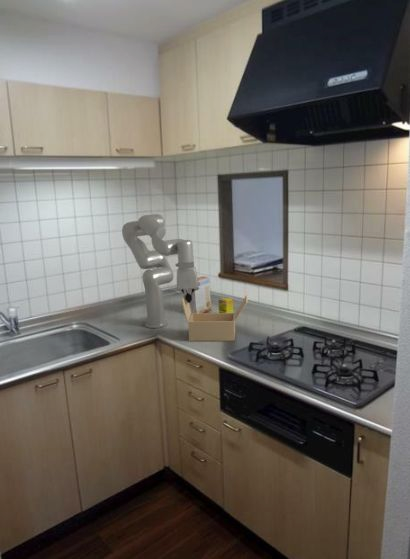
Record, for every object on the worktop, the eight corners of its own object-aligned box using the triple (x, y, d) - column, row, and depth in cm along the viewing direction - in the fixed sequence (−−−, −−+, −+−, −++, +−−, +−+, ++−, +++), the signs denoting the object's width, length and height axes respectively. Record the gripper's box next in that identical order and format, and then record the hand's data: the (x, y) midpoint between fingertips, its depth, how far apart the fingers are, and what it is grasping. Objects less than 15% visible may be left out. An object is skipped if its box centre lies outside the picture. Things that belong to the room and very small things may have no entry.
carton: (189, 341, 208) (188, 322, 205) (193, 331, 221) (192, 313, 219) (234, 341, 205) (233, 321, 203) (235, 331, 219) (234, 313, 217)
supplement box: (218, 318, 243) (218, 299, 240) (225, 315, 247) (224, 297, 245) (226, 319, 239) (226, 301, 236) (233, 317, 243) (232, 298, 241)
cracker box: (203, 309, 261) (202, 275, 257) (211, 310, 258) (210, 277, 253) (188, 314, 251) (187, 280, 246) (196, 316, 247) (194, 281, 243)
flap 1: (186, 292, 217) (185, 293, 217) (182, 299, 204) (181, 300, 204) (191, 313, 219) (190, 313, 219) (187, 321, 206) (186, 321, 206)
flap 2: (246, 302, 201) (247, 302, 201) (246, 294, 214) (247, 295, 214) (234, 320, 203) (235, 321, 203) (235, 312, 216) (236, 313, 216)
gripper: (169, 267, 204) (172, 304, 207) (200, 266, 202) (203, 303, 206) (172, 265, 211) (175, 300, 214) (202, 263, 209) (204, 299, 213)
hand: (188, 302), depth 210 cm, fingers closed
